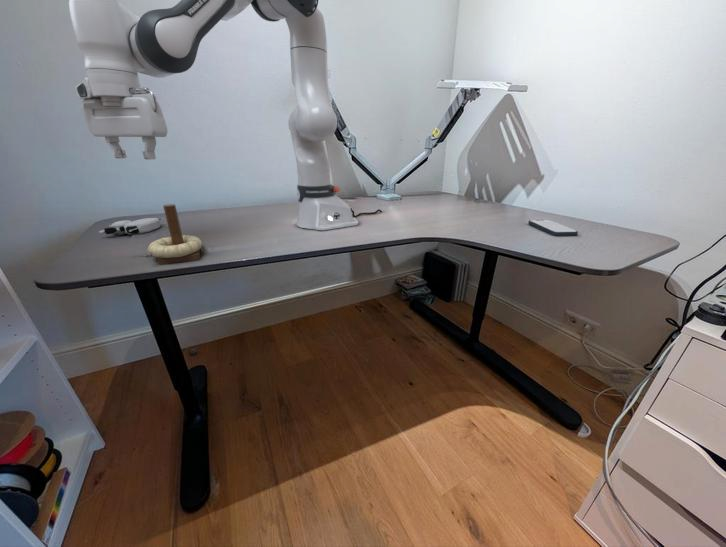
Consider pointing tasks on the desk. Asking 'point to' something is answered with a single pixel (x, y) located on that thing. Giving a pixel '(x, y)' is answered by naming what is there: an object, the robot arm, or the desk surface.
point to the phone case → (553, 228)
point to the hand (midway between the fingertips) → (135, 158)
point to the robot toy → (133, 226)
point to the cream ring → (174, 247)
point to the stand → (176, 236)
